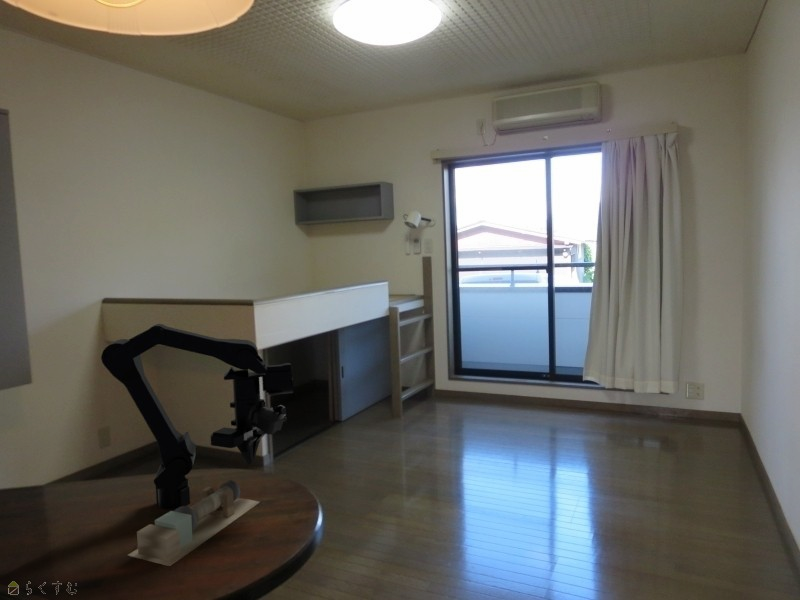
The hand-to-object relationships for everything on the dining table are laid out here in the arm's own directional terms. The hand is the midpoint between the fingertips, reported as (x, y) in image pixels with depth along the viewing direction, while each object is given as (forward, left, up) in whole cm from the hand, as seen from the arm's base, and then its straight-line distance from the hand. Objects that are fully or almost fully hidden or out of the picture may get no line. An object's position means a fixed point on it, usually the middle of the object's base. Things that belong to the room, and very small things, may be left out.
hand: (250, 464), depth 123 cm
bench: (0, -16, -8) cm, 18 cm away
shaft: (0, -14, -6) cm, 15 cm away
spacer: (0, -23, -7) cm, 24 cm away
